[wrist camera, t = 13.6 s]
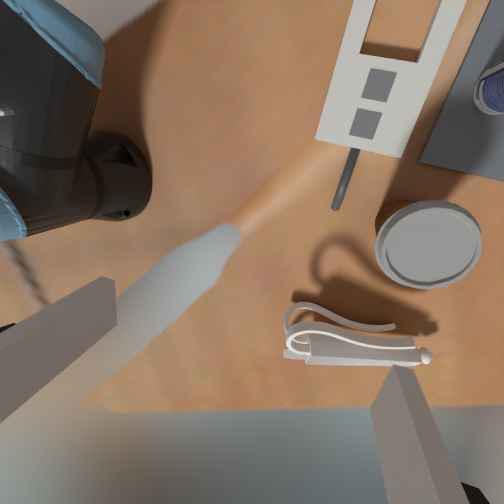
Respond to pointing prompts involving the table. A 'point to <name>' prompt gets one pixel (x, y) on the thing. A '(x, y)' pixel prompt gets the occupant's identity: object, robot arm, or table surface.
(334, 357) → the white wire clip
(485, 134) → the rubber mat
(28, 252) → the table surface
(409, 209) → the disposable coffee cup
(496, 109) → the pill bottle
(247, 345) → the table surface
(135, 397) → the table surface
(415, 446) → the robot arm
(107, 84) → the table surface
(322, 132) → the socket strip
